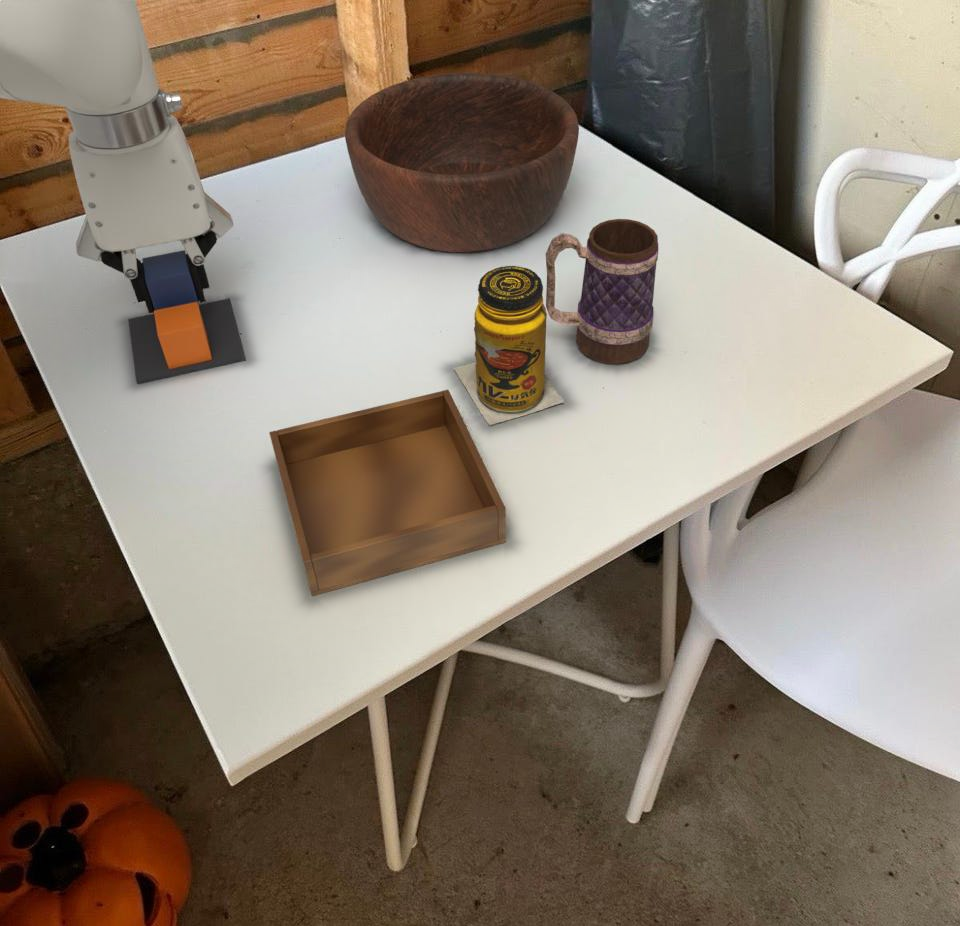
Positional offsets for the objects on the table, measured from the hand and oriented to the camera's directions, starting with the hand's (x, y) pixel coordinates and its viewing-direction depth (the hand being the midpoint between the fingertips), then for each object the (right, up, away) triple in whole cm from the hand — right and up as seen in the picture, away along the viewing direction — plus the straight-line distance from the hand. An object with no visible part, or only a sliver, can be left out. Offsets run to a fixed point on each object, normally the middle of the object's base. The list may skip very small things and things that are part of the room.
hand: (175, 297), depth 89 cm
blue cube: (0, 0, 0) cm, 0 cm away
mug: (+40, -5, -1) cm, 41 cm away
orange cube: (+2, -5, -1) cm, 6 cm away
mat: (+1, -4, +1) cm, 4 cm away
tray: (+22, -19, -15) cm, 32 cm away
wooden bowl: (+28, +13, +17) cm, 35 cm away
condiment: (+32, -9, -5) cm, 33 cm away
